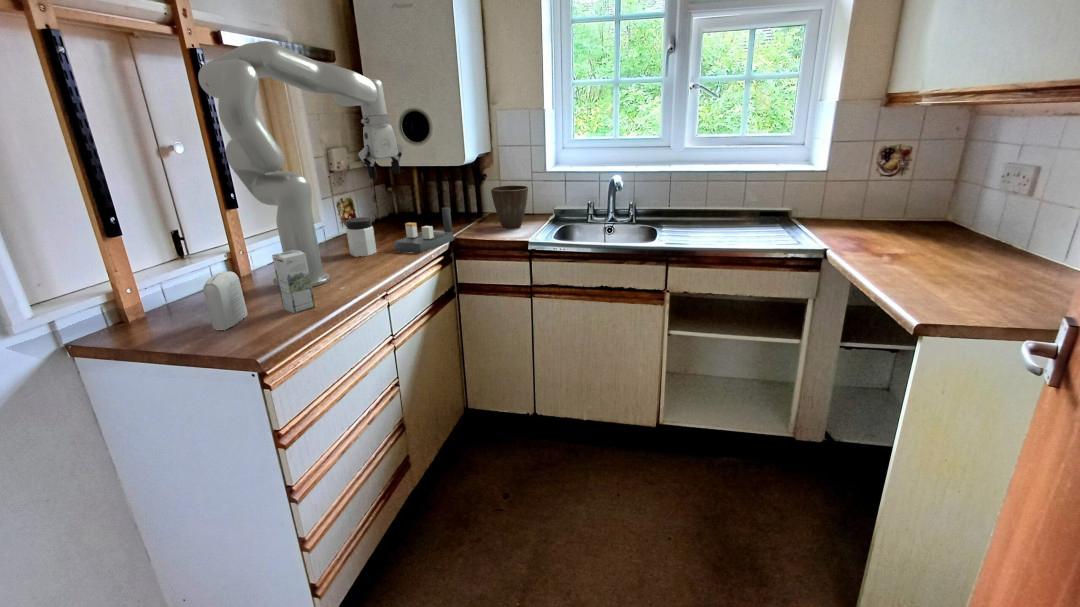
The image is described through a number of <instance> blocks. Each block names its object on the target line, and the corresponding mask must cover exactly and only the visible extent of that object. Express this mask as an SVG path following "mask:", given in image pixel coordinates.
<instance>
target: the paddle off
mask: <svg viewBox="0 0 1080 607" xmlns="http://www.w3.org/2000/svg"><path fill="white" fill-rule="evenodd" d="M433 230H434V227H433V225H431V226H430V225H424V226H421V232H422V236H423V239H431V238H434V235H433Z"/></svg>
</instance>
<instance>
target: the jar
mask: <svg viewBox="0 0 1080 607" xmlns="http://www.w3.org/2000/svg"><path fill="white" fill-rule="evenodd" d="M345 224H346V228H345V229H346V237H347V242H348V249H349V254H350V255H351V256H353V257H355V258H356V257H357V258H359V256H361V257H369V255H370V256H371V255H375V254H377V245H376V239H375V231H374V226H373V224H372V219H371V218H370V217H354V218H348V219H346V220H345ZM374 253H375V254H374Z"/></svg>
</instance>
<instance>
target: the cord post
mask: <svg viewBox="0 0 1080 607" xmlns="http://www.w3.org/2000/svg"><path fill="white" fill-rule="evenodd" d="M441 215H442V223H443V230H444V231H445V232H450V231H453V226H452V225H453V224H452V215H451V208H450V207H447V206H446V207H441ZM453 241H455V236H454V235H453Z"/></svg>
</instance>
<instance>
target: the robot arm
mask: <svg viewBox="0 0 1080 607" xmlns="http://www.w3.org/2000/svg"><path fill="white" fill-rule="evenodd" d="M266 78H269V79H273V80H276V81H279V82H281V83H284V84H287V85H289V86H292V87H295V88H297V89H300V90H303V91H305V92H308V93H309V92H311V93H315V94H328V95H330V94H331V96H332V99H333V100H334V101H335V102H336V103H337V104H338V105H340V106H343V107H356V106H357V107H359V106H360V108H361V114H362V119H361V121H360V122H361V124H363V125H364V126H363V127H362V130H363V131H362V133H363V134H362V135H363V146H364V147H363V148H362V149H361V150H360V151H359V152H358V153H357V156H358V157H359V159H360V160H361V163H363V164H364V165H365V167H367V171H368V172H367V173H368V176H369V179H370V180H371V179H373V180H376V179H378V173H377V168H376V166H375V163H376V161H377V160H383V159H389V158H390V160H391V162H390V165H391V170H392V174H396V175H400V174H401V168H400V161H401V158H402V155H403V154H402V153H403V149H404V148H403V146H402V145H400V144H398V143H397V140H396V135H395V132H394V130H393V129H394V128H393V127H392V125H391V124H389V123H390V122H389V117H388V110H387V106H386V105H387V104H386V98H385V94H384V88H383V87H384V86H383V82H382V81H381V80H380V79H378V78H368V77H367V76H365V75H362V74H360V73H359V72H356V71H353V70H352V69H349V68H348V69H347V68H344V67H342V66H337V65H335V64H334V65H333V64H330V63H326V62H323V61H318V60H314V59H312V58H309V57H308V56H305V55H303V54H300V53H299V52H296V51H294V50H291V49H289V48H287V47H285V46H283V45H281V44H278V43H276V42H272V41H267V40H261V41H255V42H249V43H245V44H242V45H240V46H237V47H236V48H233V49H232V50H230V51H228V52H226V53H224V54H222V55H220V56H218V57H216V58H213V59H212V60H210V61H208V62H206V63H205V64H203V65H202V66H201V67H200V69H199V72H198V82H199V86H200V88H201V89H202V90H203V91H204V92H205V93H206V95H209V97H212V98H216V99H217V100H218V102H217V103H218V104H217V105H218V107H217V108H218V110H217V111H218V116H219V118H220V123H221V124H222V126H223V128H224V129H225V131H226V133H227V134H228V135H229V137H230V138H231V139H230V140H229V141H228V142H227V144H226V147H225V157H226V159H227V160H226V161H227V162H228V164H229V166H230V168H231V169H232V170H233V172H234V174H235V175H236V176H237V177H238V178H239V180H240V181H241V183H242V184H243V185H244V187H245V188H246V189H247V190H248V192H250V194H251V195H252V196H253V197H254V198H255V199H256V200H257V201H258V202H260V203H261V204H265V205H268V206H274V207H275V206H277V209H276V210H277V211H276V227H277V232H278V237H279V241H280V245H281V251H282V253H283V252H287V251H292V250H298V251H301V252H303V253H305V254H306V260H307V265H308V270H309V276H310V281H311V286H312V288H313V287H316V286H320V285H323V284H325V283H327V282H329V281H330V279H331V275H330V273H327V272H324V269H323V263H322V258H321V253H320V248H319V242H318V238H317V237H318V236H317V231H316V227H315V222H314V217H313V204H312V200H313V197H312V196H313V193H312V186H311V184H310V182H309V181H308V180H307V179H306V177H304V176H303V175H301V174H300V173H298V172H294V171H287V170H286V171H285V170H281V169H282V167H283V166H284V163H285V156H284V153H283V151H282V149H281V148H280V146H279V144H278V143H277V141H276V140H275V138H274V137H273V135H272V134H271V133H270V131H269V129H268V128H267V127H266V125H265V124H264V122H263V120H262V119H261V117H260V116H259V113H258V112H257V108H256V107H257V106H256V100H257V99H256V97H257V93H258V90H259V86H260V85H259V84H260V80H259V79H266ZM272 282H273V284H274V285H276V286H278V281H277V277H275V278H273V281H272Z"/></svg>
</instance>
